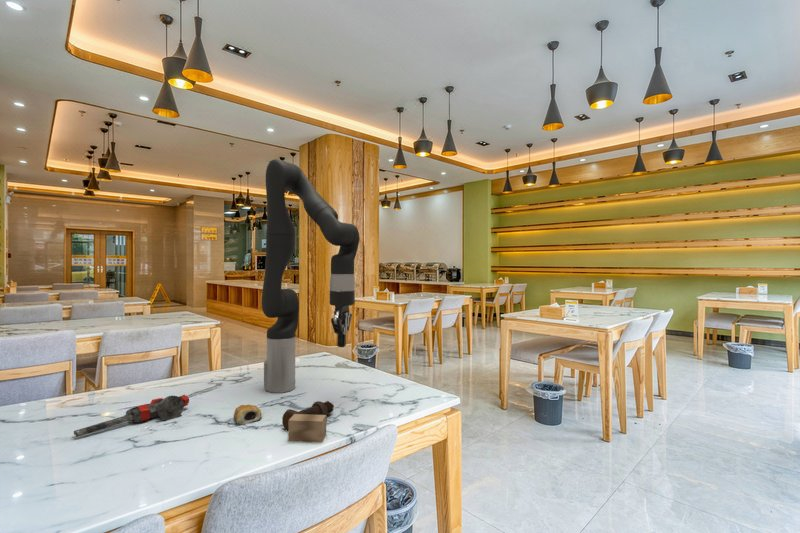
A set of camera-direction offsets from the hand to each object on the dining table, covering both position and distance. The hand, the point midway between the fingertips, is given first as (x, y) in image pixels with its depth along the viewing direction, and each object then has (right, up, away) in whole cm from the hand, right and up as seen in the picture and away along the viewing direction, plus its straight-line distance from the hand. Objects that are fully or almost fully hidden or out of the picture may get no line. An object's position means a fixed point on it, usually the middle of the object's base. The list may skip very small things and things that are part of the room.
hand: (341, 346), depth 119 cm
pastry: (-24, -17, -13) cm, 32 cm away
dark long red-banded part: (-53, -17, -14) cm, 57 cm away
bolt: (-6, -17, -15) cm, 23 cm away
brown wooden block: (-4, -17, -25) cm, 30 cm away
